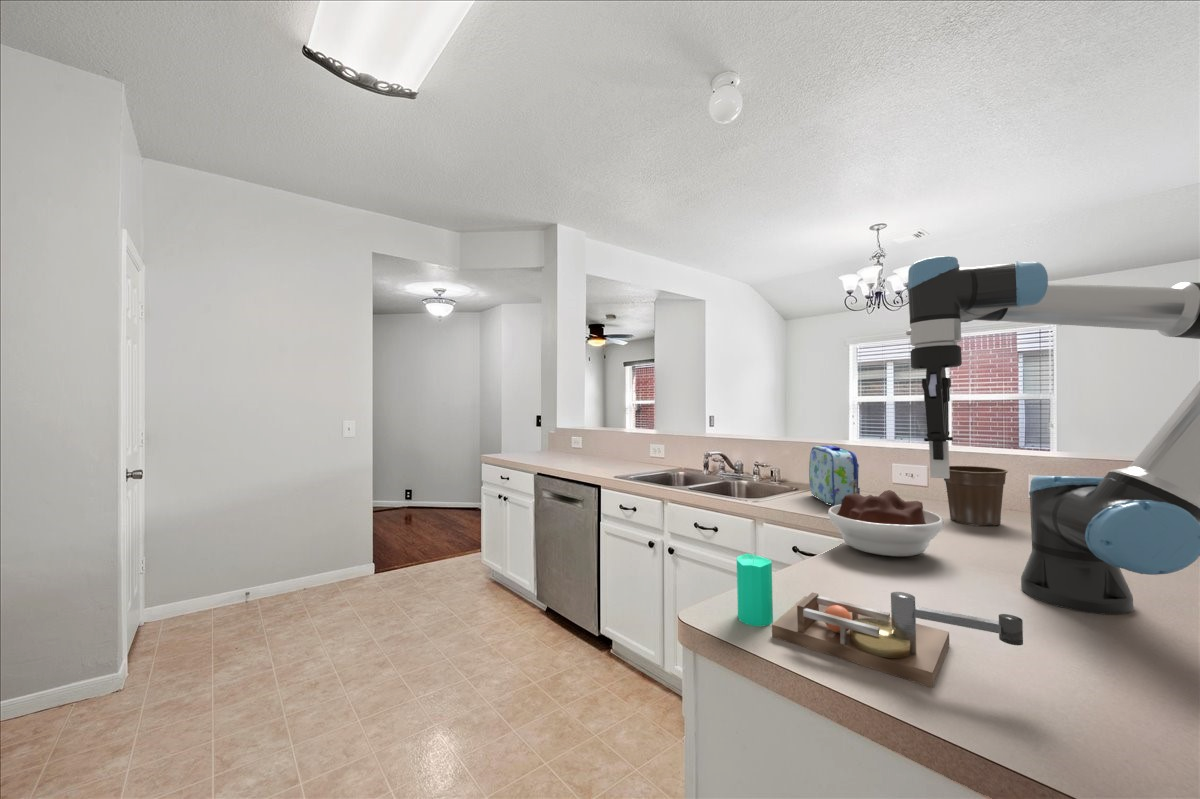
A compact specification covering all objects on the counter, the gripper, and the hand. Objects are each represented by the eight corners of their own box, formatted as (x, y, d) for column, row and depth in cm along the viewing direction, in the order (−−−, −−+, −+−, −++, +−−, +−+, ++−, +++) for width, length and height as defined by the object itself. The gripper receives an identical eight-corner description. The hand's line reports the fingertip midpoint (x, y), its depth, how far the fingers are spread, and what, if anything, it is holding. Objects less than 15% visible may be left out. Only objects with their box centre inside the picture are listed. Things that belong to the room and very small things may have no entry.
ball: (855, 630, 77) (854, 605, 77) (847, 640, 74) (847, 614, 74) (828, 623, 79) (828, 598, 79) (820, 632, 76) (819, 606, 76)
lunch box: (864, 509, 167) (862, 448, 167) (831, 509, 168) (830, 449, 168) (835, 495, 193) (833, 442, 193) (807, 495, 194) (805, 442, 194)
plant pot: (942, 513, 159) (941, 463, 159) (1006, 519, 150) (1005, 466, 150) (941, 523, 146) (940, 470, 146) (1011, 531, 137) (1010, 473, 137)
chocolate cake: (942, 575, 105) (940, 505, 105) (818, 555, 120) (816, 494, 120) (946, 546, 125) (945, 487, 125) (839, 532, 140) (838, 479, 140)
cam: (1001, 704, 57) (999, 639, 57) (839, 641, 73) (838, 590, 73) (1026, 673, 64) (1024, 614, 64) (872, 621, 79) (870, 574, 79)
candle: (732, 612, 89) (731, 546, 89) (764, 610, 90) (762, 545, 90) (745, 627, 83) (743, 557, 83) (779, 625, 84) (777, 555, 84)
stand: (949, 644, 76) (948, 606, 76) (932, 687, 65) (931, 642, 65) (805, 606, 91) (804, 574, 91) (772, 636, 80) (771, 600, 80)
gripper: (916, 350, 95) (920, 471, 94) (904, 345, 85) (909, 481, 85) (964, 346, 90) (969, 474, 90) (957, 341, 80) (962, 484, 80)
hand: (940, 477), depth 87 cm, fingers closed
